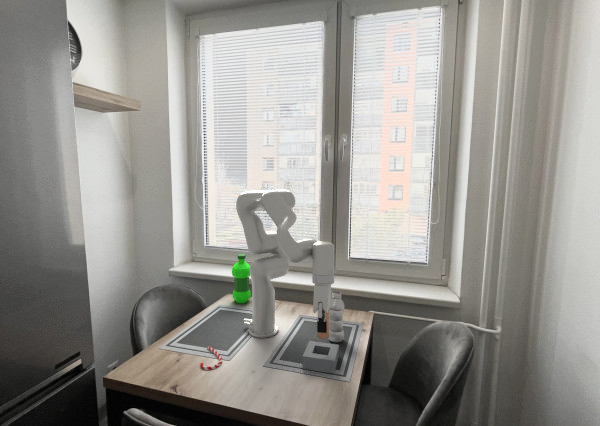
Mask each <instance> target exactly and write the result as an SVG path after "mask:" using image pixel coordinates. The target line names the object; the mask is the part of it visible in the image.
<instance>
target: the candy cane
mask: <svg viewBox="0 0 600 426" xmlns="http://www.w3.org/2000/svg"><path fill="white" fill-rule="evenodd" d="M206 348H207V350H208V351H209V352H211V353H212V354H213V355H214V356H215V357H216V358H217V359H218V362H217V363H216V364H214V365H211V366H206V365H204V363H203V362H200V365H199V366H200V369H201V370H204V371H212V370H215V369H218V368H220V367H221V366H222V364H223V357H222V355H221V354H220V353H219V352H218V351H217V350H215V349H214V348H213V347H212V346H207V347H206Z"/></svg>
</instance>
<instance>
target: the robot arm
mask: <svg viewBox="0 0 600 426" xmlns="http://www.w3.org/2000/svg"><path fill="white" fill-rule="evenodd" d="M295 205H296V197H295V196H294V194H293V193H292V192H291V191H290V190H287V189H275V190H274V189H272V190H250V191H249V190H248V191H244V192H241V193H240V194H239V195H238V196H237V199H236V206H235V207H236V208H235V210H236V213H237V216H238V218H239V220H240V223H241V224H242V228H243V233H244V238H245V240H246V245H247V246H246V247H247V248H248V252H249V253H250V255H252V256H255V257H256V256H257V257H258V256H262V255H268V254H269V256H266V257H260V258H257V259H254V260H253V261H252V262H251V263H250V264H249V265H250V276H249V277H250V280H251V281H250V282H251V300H252V301H251V308H252V310H251V313H252V314H251V315H252V316H251V317H252V318H250V319H249V318H244V319H243V324H244V325H243V326H248V334H249V335H250V336H252V337H254V338H259V339H260V338H262V339H264V338H270V337H273V336H275V335H277V333H278V332H279V326H278V325H277V324H276V322H275V320H276V318H275V316H276V315H275V314H276V313H275V312H276V310H275V309H276V305H275V304H276V292H275V291H276V290H275V287H274V285H273V284H272V281H271V280H275V279H278V278H281V277H284V276H286V275H287V274H288V272H289V269H290V263H289V262H291V263H292V264H293V263H294V264H299V263H303V262H307V261H312V263H311V264H312V265H311V266H312V267H311V268H312V269H311V271H312V275H311V276H312V278H311V279H312V281H311V282H312V284H314V285H313V286H314V288H313V297H312V299H313V300H312V301H313V302H312V305H313V306H312V313H314V314H315V313H317V318H316V319H317V320H316V325H317V326H316V328H317V329H316V332H317V333H318V332H319V333H326V332H327V321H326V313H327V312H328V310H329V308H330V305H331V299H332V285H333V284H334V283H335V245H334V243H332V242H329V241H322V240H319V239H316V238H306V239H300V240H295V239H294V238H293V236H292V235H291V234H290V231H289V229H291V228H292V227H293V226H294V224H295V223H296V221H297V215H296V213H295V212H294V211H293V208H294V207H295ZM257 211H258V212H259V211H260V212H261V211H265V212H266V214H268V216H269V218H270V219H271V221H272V222H273V223H274V224H275V227H277V229H276V231H273V230H271V231H270V230H269V231H265V228H264V223H263V221H262V218H261V217H260V216H259V215H258V214H257V213H255V212H257ZM322 311H325V312H322ZM322 314H323V315H324V316H322Z"/></svg>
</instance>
